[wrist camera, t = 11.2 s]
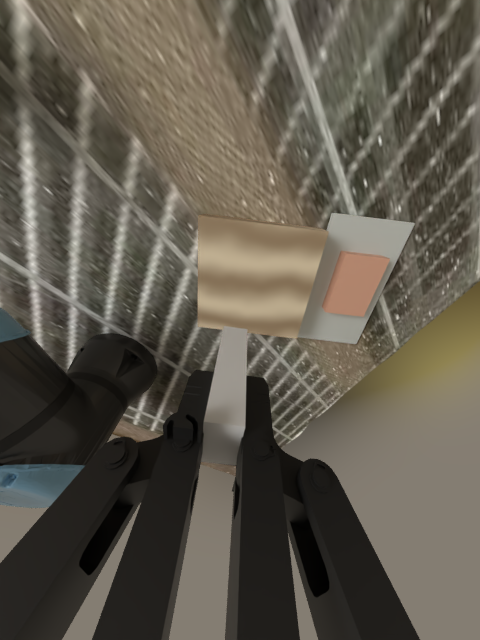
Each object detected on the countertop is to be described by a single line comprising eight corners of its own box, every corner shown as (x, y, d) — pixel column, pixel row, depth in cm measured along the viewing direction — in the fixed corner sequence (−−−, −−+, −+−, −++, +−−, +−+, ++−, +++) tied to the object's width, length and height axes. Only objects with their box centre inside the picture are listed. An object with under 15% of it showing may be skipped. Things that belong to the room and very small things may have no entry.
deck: (292, 325, 37) (296, 338, 33) (203, 314, 37) (197, 326, 33) (319, 228, 29) (329, 231, 25) (205, 213, 29) (198, 215, 25)
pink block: (325, 312, 32) (321, 306, 34) (363, 316, 32) (357, 310, 34) (346, 253, 28) (340, 250, 30) (390, 258, 28) (382, 255, 30)
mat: (355, 342, 38) (356, 344, 37) (295, 335, 38) (295, 336, 37) (413, 222, 28) (415, 223, 27) (331, 212, 28) (332, 212, 27)
